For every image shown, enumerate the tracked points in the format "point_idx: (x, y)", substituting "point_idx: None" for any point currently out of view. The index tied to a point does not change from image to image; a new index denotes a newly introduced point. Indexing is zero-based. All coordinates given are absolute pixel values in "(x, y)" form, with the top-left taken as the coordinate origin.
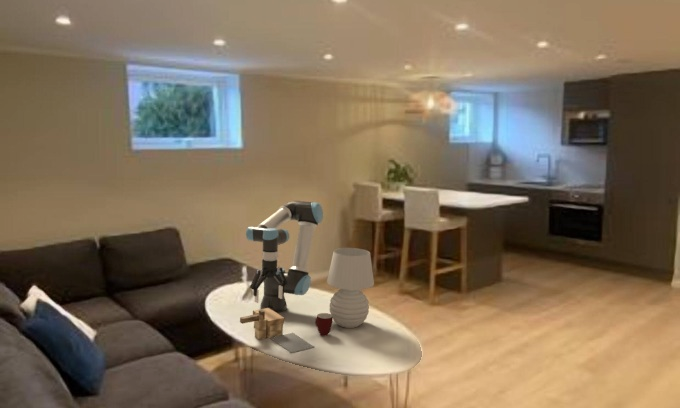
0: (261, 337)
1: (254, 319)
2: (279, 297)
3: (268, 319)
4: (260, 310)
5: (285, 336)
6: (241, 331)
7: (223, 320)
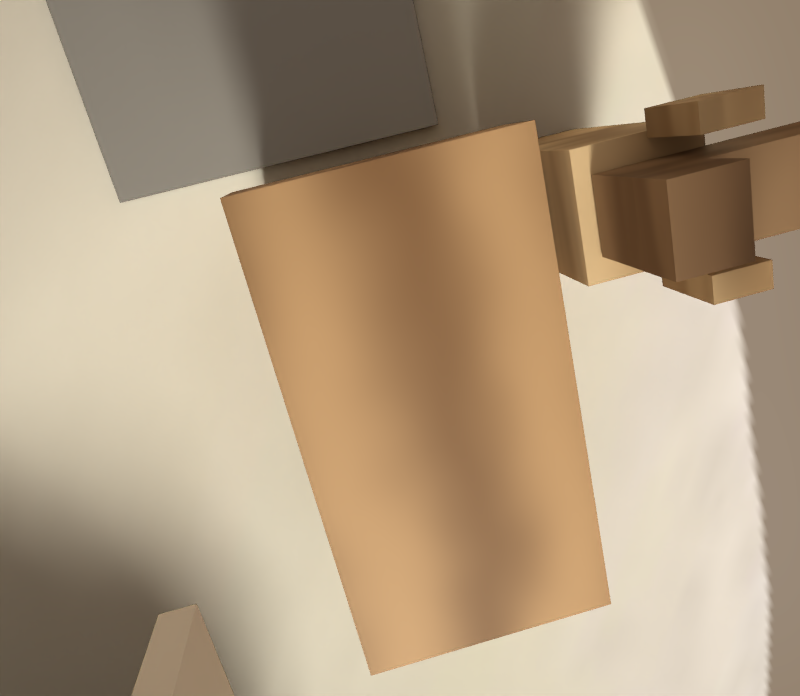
0: (543, 138)
1: (795, 126)
2: (219, 680)
3: (513, 192)
4: (722, 266)
5: (245, 103)
6: (663, 402)
7: (722, 680)
